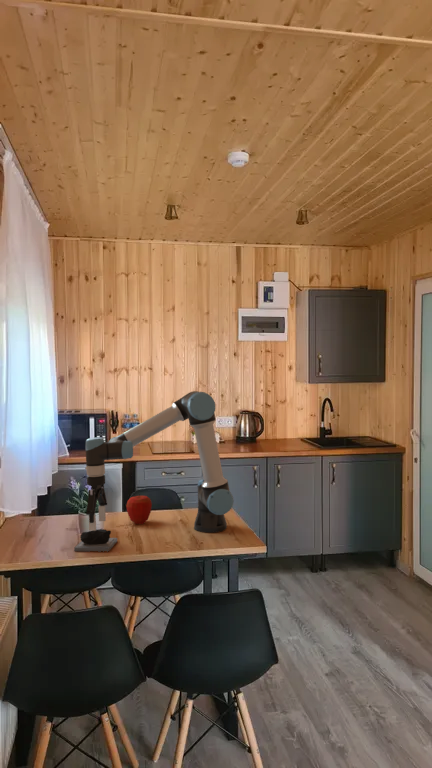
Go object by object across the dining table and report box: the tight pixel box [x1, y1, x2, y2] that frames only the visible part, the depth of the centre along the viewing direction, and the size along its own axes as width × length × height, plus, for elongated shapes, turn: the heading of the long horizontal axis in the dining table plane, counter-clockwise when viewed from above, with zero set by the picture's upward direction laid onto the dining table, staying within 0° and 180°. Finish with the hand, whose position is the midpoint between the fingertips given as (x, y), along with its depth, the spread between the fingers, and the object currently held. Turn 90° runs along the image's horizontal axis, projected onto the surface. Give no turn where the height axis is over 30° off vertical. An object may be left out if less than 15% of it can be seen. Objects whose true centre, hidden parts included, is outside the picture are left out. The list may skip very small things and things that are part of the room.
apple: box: [125, 494, 153, 525], centre depth 269 cm, size 12×12×14 cm
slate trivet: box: [74, 537, 118, 553], centre depth 234 cm, size 14×14×2 cm
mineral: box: [79, 528, 112, 545], centre depth 233 cm, size 10×9×6 cm
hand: (97, 525), depth 234 cm, fingers open, 13 cm apart
